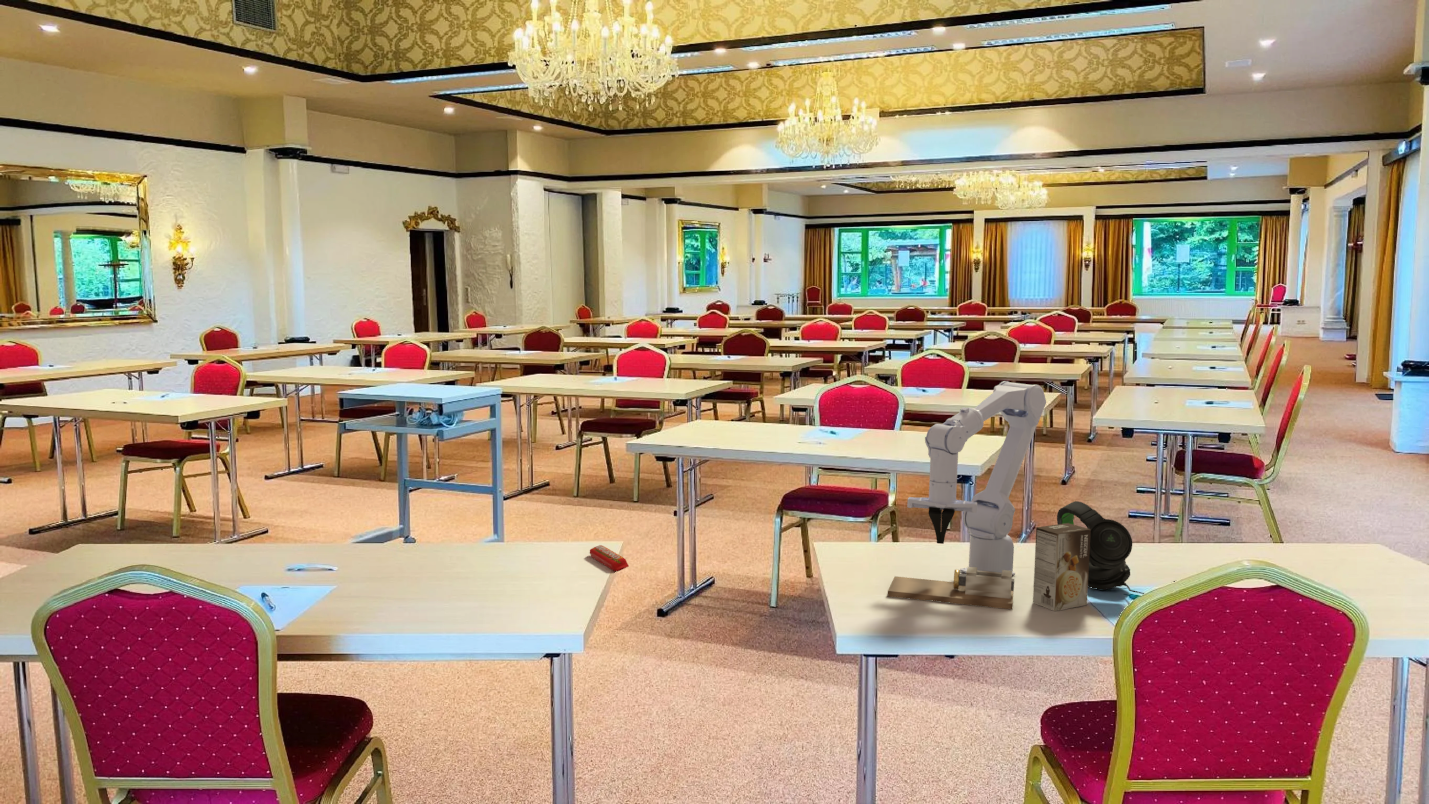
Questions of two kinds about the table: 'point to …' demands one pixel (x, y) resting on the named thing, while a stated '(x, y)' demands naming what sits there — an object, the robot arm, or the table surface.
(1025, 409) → the robot arm
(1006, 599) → the board
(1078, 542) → the coffee box
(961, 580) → the shaft
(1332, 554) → the table surface
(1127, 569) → the headset
